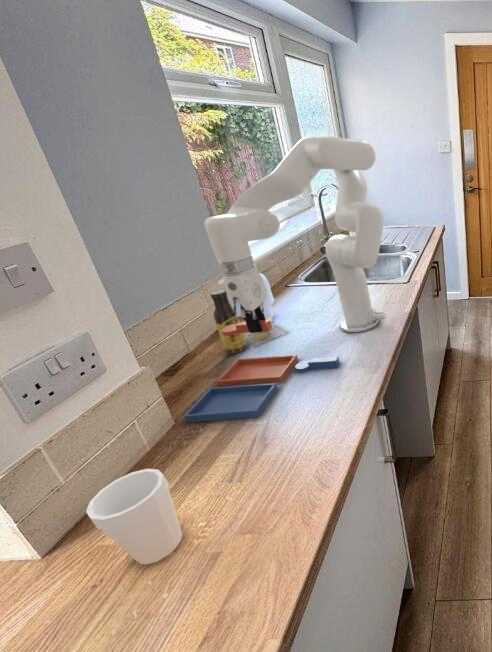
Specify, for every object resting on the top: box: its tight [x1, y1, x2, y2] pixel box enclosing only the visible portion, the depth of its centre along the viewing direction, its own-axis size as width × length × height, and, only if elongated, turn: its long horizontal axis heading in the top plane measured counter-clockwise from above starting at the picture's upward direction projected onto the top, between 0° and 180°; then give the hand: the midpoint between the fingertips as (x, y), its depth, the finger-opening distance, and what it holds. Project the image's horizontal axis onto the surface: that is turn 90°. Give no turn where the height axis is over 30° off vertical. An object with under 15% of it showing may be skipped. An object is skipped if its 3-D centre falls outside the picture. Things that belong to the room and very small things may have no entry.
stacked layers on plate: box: [245, 317, 286, 347], centre depth 135 cm, size 10×9×6 cm
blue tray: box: [183, 383, 279, 424], centre depth 103 cm, size 17×11×2 cm, turn 93°
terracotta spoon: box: [222, 320, 272, 336], centre depth 108 cm, size 12×4×2 cm, turn 94°
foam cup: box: [85, 468, 183, 565], centre depth 66 cm, size 10×9×13 cm
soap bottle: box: [248, 272, 275, 319], centre depth 143 cm, size 10×10×24 cm
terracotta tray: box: [216, 354, 299, 387], centre depth 115 cm, size 17×11×2 cm, turn 93°
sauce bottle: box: [209, 289, 248, 355], centre depth 125 cm, size 7×6×20 cm
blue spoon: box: [294, 356, 341, 373], centre depth 117 cm, size 12×4×2 cm, turn 93°
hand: (258, 328), depth 109 cm, fingers closed on terracotta spoon, 2 cm apart
